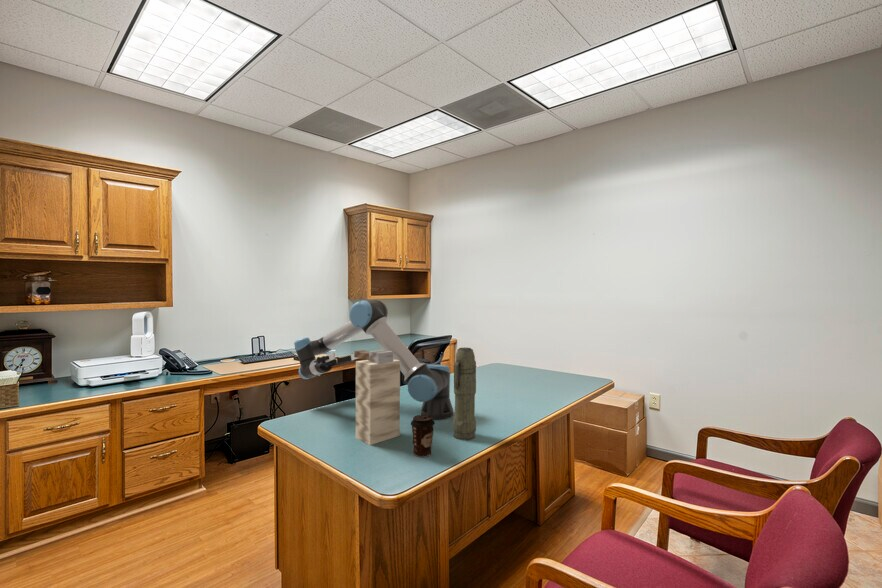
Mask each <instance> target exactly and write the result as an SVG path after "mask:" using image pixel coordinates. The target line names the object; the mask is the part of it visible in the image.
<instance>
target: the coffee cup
mask: <svg viewBox="0 0 882 588" xmlns="http://www.w3.org/2000/svg"><path fill="white" fill-rule="evenodd" d="M432 418H433V417H432V416H431V415H421V414H417V415H414V416H413V418H412V420H411V422H410V425H411V431H412V432H411V433H412V440H413V441H412V444H413V451H412V454H413V455H414V456H415V457H419V458H423V457H424V458H425V457H428V456H430V455H432V446H433V440H434V439H433V437H434V429H435V428H434V425H435V423H436V422H435V419H432Z"/></svg>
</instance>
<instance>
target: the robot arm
mask: <svg viewBox="0 0 882 588" xmlns="http://www.w3.org/2000/svg"><path fill="white" fill-rule="evenodd" d="M388 314H389V310H388V307H387V305H386V304H385V303H384V302H383V301H381V300H378V299H373V300H363V299H362V300H361V301H360V300H359V301H357V302H355V303H354V304H352V306H351V308H350V310H349V317H348V318H349V321H347V322H346V323H343V324H342V325H340V326H339V327H337V328H336V329H334V330H332V331H330V332H328V333H327V334H326V335H324V336H322V337H320V338H319V339H316V340H311V339H310V337H303V338H299V339H297V340H295V341H294V343H293V345H294V349H295V352H296V355H297V358H298V361H299V365H300V366H299V367H298V375H299V376H300V377H299V378H301V379H303V380H309V379H313V378H316V377H317V376H318V377H320V376H321V375H323V374H326V373H328V372H330V371H331V370H332V369H333V367H335V366H340V365H345V364H349V363H351V362H356V361H358V360H357V359H359V358H357V357H354V352H353V353H351V354H350V355H345V356H342V357H340V356H339V357H338V356H336V353H335V352H331V353H329V352H330V351H332V349H335V348H336V347H337V346H339V345H340V344H342V343H344V342H346V341H347V340H349V339H351V338H352V337H354V336H356V335H358V334H360V333H361V332H364V333H365V334H366V336H367V335H369V336H372V338H373V339H374V340H375V341H376V343H378V345H379V347H380V348H381V350H388V351H393V359H395V360H400V373H402V374H403V376H404V382H405V384H406V385H407V391H408V394H409V396H410V397H411V398H412V399H413V400H414V401H417V402H419V403H422V404H421V406H420V407H421V408H420V415H431V416H432V417H433V418H432V420H445V419H449V418H451V417H453V415H454V408H453V404H452V401H451V399H450V398H451V397H450V393H451V391H450V388H451V387H450V386H451V384H450V383H451V379H450V377H451V370H450V367H449V365H444V364H429V363H428V364H426V363H424V362H423V363H422V362H419V359H417V358H416V357H415V355H414V354H413V353H412V352H411V350H410V349H409V348H408V347H407V345H406V344H405V343H404V342H403V341H402V340H401V338H400V337H399V336H398V335H397V333H395V331H394V330H393V329H392V328H391V327H390V325H388V323H387V319H388V318H387V317H388ZM327 353H329V354H327ZM325 354H326V355H325ZM319 355H323V356H319ZM316 356H318V357H316Z"/></svg>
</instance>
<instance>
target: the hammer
mask: <svg viewBox="0 0 882 588" xmlns="http://www.w3.org/2000/svg"><path fill="white" fill-rule="evenodd" d="M353 353H354V357H357V358H358V359H362V360H369V362H372V363H376V364H381V363H387V362H393V351H388V350H383V349H378V350H372V351H371V350H370V351H369V350H364V349H359V350H354V351H353Z"/></svg>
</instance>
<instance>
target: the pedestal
mask: <svg viewBox="0 0 882 588" xmlns="http://www.w3.org/2000/svg"><path fill="white" fill-rule="evenodd" d="M400 404H401V371H400V360H395V359H393V362H387V363H381V364H376V363H372V362H369V360H365V359H362V360H356V361H355V434H354V435H355V439H357V440H359V441H361V442H364V443H366V444H367V445H369V446H372V445H375V444H378V443H380V442H382V443H383V442H384V441H387V440H390V439H393V438H396V437H400V431H401V429H400V428H401V425H400V424H401V419H400V416H401V414H400V413H401V405H400Z"/></svg>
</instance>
